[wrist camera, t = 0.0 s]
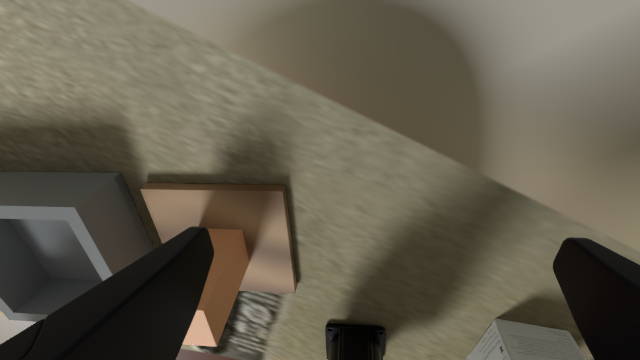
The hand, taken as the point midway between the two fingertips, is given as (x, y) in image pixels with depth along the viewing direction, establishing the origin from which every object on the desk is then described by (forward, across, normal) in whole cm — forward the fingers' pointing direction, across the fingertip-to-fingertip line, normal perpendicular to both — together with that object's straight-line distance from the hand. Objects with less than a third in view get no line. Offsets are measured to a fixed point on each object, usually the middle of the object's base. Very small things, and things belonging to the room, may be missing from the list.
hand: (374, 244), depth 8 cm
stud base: (+15, +12, +13) cm, 23 cm away
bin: (+15, +27, +13) cm, 34 cm away
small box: (+15, -17, +27) cm, 36 cm away
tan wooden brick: (+14, +12, +13) cm, 23 cm away
